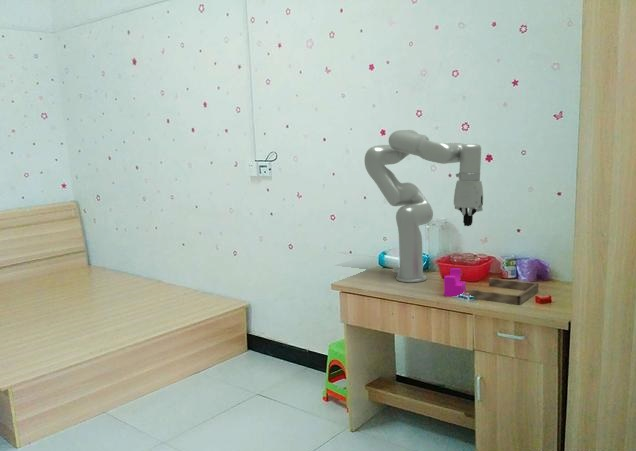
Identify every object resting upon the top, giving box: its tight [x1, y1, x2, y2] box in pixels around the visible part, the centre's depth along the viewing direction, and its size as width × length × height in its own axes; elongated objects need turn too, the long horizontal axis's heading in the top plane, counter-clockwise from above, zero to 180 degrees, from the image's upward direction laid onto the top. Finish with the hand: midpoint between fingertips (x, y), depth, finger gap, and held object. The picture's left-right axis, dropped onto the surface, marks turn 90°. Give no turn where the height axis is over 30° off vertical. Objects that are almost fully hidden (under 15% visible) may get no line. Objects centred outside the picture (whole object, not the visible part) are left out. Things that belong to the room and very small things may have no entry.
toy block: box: [443, 267, 467, 298], centre depth 212 cm, size 15×6×8 cm, turn 158°
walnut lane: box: [468, 277, 539, 306], centre depth 205 cm, size 18×20×3 cm
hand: (467, 225), depth 212 cm, fingers closed
